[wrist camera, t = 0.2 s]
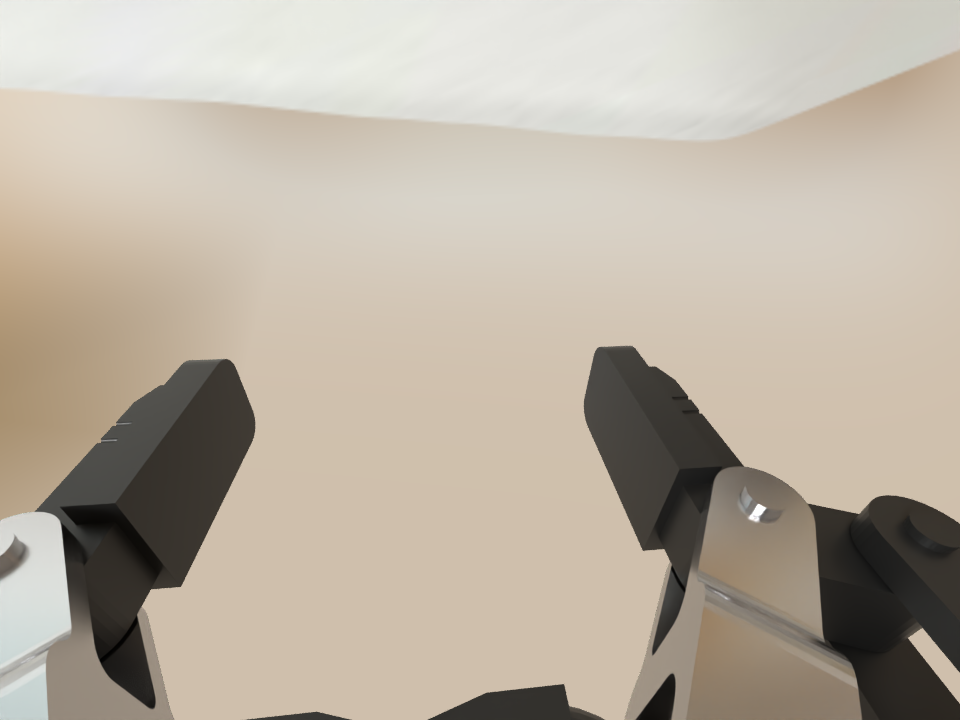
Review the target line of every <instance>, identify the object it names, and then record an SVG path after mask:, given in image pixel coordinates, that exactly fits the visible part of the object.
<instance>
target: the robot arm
mask: <svg viewBox="0 0 960 720" xmlns="http://www.w3.org/2000/svg"><path fill="white" fill-rule="evenodd" d="M584 413H585V419H586V422H587V425H588V428H589V430H590V432H591V434H592V437H593V439H594V441H595V443H596V445H597V448H598V450H599V453H600V455H601V457H602V459H603V462H604V464H605V466H606V468H607V470H608V473H609V475H610V477H611V480H612V482H613V484H614V486H615V489H616V491H617V493H618V495H619V498H620V500H621V502H622V504H623V507H624V509H625V511H626V513H627V516H628V518H629V520H630V523H631V525H632V527H633V529H634V531H635V534H636V536H637V538H638V541H639V543H640V545H641V547H642V550H643V551H645V550H657V549H665V551H666V553H667V555H668V557H669V560H670V563H669V565H668V568H667V570H666V574H665V578H664V582H663V586H662V590H661V594H660V598H659V602H658V606H657V610H656V614H655V619H654V623H653V627H652V631H651V636H650V639H649V644H648V647H647V651H646V655H645V659H644V663H643V666H642V669H641V672H640V675H639V677H638V680H637V682H636V685H635V688H634V690H633V693H632V696H631V699H630V702H629V705H628V709H627V712H626V716H625V720H960V704H959V702H958V701H957V700H956V699H955V697H954V696H953V695H952V694H951V692H950V691H949V690H948V688H947V687H946V686H945V685H944V683H943V682H942V681H941V680H940V678H939V677H938V676H937V675H936V674H935V672H934V671H933V670H932V668H931V667H930V666H929V664H928V663H927V662H926V661H925V659H924V658H923V657H922V656H921V655H920V653H919V652H918V651H917V649H916V648H915V647H914V645H913V644H912V643H911V642H910V641H909V639H908V637H910V636H911V635H913V634H914V633H915V632H917V631H918V630H920V629H921V628H923V629H924V630H925V631H926V632H927V633H928V635H929V636H930V637H931V638H932V640H933V641H934V642H935V643H936V644H937V646H938V647H939V648H940V649H941V650H942V652H943V653H944V654H945V655H946V657H947V658H948V659H949V660H950V661H951V662H952V664H953V665H954V666H955V667H956V668H957V670H958V671H959V672H960V524H959V523H958V522H956V521H955V520H954V519H952V518H950V517H948V516H947V515H945V514H944V513H942V512H940V511H938V510H936V509H934V508H932V507H930V506H928V505H925V504H923V503H920V502H918V501H915V500H912V499H908V498H905V497H899V496H889V495H888V496H880V497H877V498H875V499H873V500H872V501H871V502H870V503H869V504H868V505H867V506H866V508H864V510H863V511H862V512H861V513H860V514H856V513H851V512H846V511H841V510H836V509H831V508H826V507H821V506H816V505H812V504H807V503H806V501H805V500H804V499H803V498H802V496H800V495H799V494H798V493H797V492H796V491H795V490H794V489H793V488H792V487H790V486H789V485H788V484H786V483H785V482H783V481H782V480H780V479H778V478H776V477H775V476H773V475H770V474H768V473H766V472H764V471H760V470H757V469H754V468H749V467H744V466H743V465H742V463H741V462H740V461H739V460H738V458H737V457H736V456H735V455H734V453H733V452H732V451H731V450H730V448H729V447H728V446H727V444H726V443H725V442H724V441H723V439H722V438H721V437H720V436H719V434H718V433H717V432H716V431H715V430H714V428H713V427H712V426H711V424H710V423H709V422H708V421H707V419H706V418H705V417H704V416H703V415H702V414H699V410H698V408H697V407H696V406H695V404H694V403H693V402H692V401H691V400H688V396H687V394H686V393H685V392H684V390H683V389H682V388H681V387H680V385H679V384H678V383H677V382H676V380H674V379H673V378H672V377H670V376H669V375H667V374H666V373H664V372H663V371H661V370H660V369H658V368H657V367H649V366H648V365H647V364H646V362H645V361H644V360H643V358H642V357H641V356H640V354H639V353H638V352H637V350H636V349H635V348H634V347H633V346H615V347H599V348H597V350H596V351H595V354H594V358H593V363H592V367H591V371H590V376H589V381H588V385H587V390H586V394H585V399H584ZM116 423H117V425H116V426H112V427H111V428H110V430H109V431H108V432H107V433H106V434H105V435H104V436H103V437H102V438H101V443H97V444H96V445H95V446H94V447H93V448H92V449H91V451H90V452H89V453H88V454H87V455H86V456H85V457H84V458H83V459H82V461H81V462H80V463H79V464H78V465H77V466H76V467H75V468H74V469H73V470H72V471H71V473H70V474H69V475H68V476H67V477H66V478H65V479H64V480H63V481H62V482H61V484H60V485H59V486H58V487H57V488H56V489H55V490H54V491H53V492H52V493H51V495H50V496H49V497H48V498H47V499H46V500H45V501H44V502H43V503H42V504H41V506H40V507H39V508H38V509H37V510H36V511H35V512H29V513H23V514H18V515H15V516H11V517H8V518H5V519H2V520H0V720H174V718H173V715H172V713H171V710H170V706H169V702H168V698H167V694H166V690H165V686H164V682H163V677H162V674H161V669H160V665H159V661H158V657H157V653H156V649H155V644H154V640H153V636H152V632H151V628H150V624H149V620H148V616H147V613H146V612H145V610H144V609H143V608H142V607H141V606H142V605H143V603H144V601H145V599H146V597H147V595H148V594H149V592H150V590H151V589H160V588H172V587H181V585H182V584H183V582H184V580H185V577H186V575H187V573H188V571H189V569H190V567H191V565H192V563H193V561H194V559H195V557H196V555H197V553H198V551H199V549H200V547H201V545H202V543H203V541H204V539H205V537H206V535H207V533H208V530H209V528H210V526H211V524H212V522H213V520H214V518H215V516H216V514H217V512H218V510H219V508H220V506H221V504H222V502H223V500H224V498H225V496H226V494H227V492H228V490H229V488H230V486H231V484H232V482H233V480H234V478H235V476H236V473H237V471H238V469H239V467H240V465H241V463H242V461H243V459H244V457H245V455H246V453H247V451H248V449H249V447H250V445H251V443H252V441H253V438H254V433H255V417H254V413H253V410H252V408H251V405H250V403H249V400H248V398H247V395H246V392H245V390H244V387H243V385H242V382H241V380H240V377H239V375H238V372H237V370H236V368H235V366H234V364H233V363H232V362H231V361H230V360H228V359H217V360H189V361H186V362H185V363H183V364H182V365H181V366H180V367H179V369H178V370H177V371H176V372H175V373H174V374H173V375H172V377H171V378H170V379H169V380H168V381H167V382H166V384H165V385H161V386H158V387H157V388H155V389H154V390H152V391H151V392H149V393H148V394H146V395H145V396H144V397H142V398H140V399H139V400H137V401H136V402H134V403H133V404H132V405H131V407H130V408H129V409H128V410H127V411H126V412H125V413H124V414H123V415H122V416H121V417H120V419H119V420H118V421H117V422H116ZM248 720H349V719H345V718H341V717H336V716H332V715H328V714H324V713H320V712H311V713H302V714H294V715H284V716H275V717H266V718H257V719H248ZM428 720H604V719H603V718H601V717H599V716H597V715H594V714H591V713H589V712H586V711H584V710H581V709H578V708H574V707H570V706H569V705H568V700H567V696H566V691H565V686H564V684H562V685H552V686H544V687H534V688H525V689H517V690H507V691H499V692H490V693H485V694H483V695H481V696H478V697H476V698H474V699H472V700H470V701H468V702H465V703H463V704H461V705H459V706H457V707H454V708H453V709H450V710H448V711H446V712H444V713H441V714H439V715H437V716H435V717H433V718H431V719H428Z"/></svg>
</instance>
